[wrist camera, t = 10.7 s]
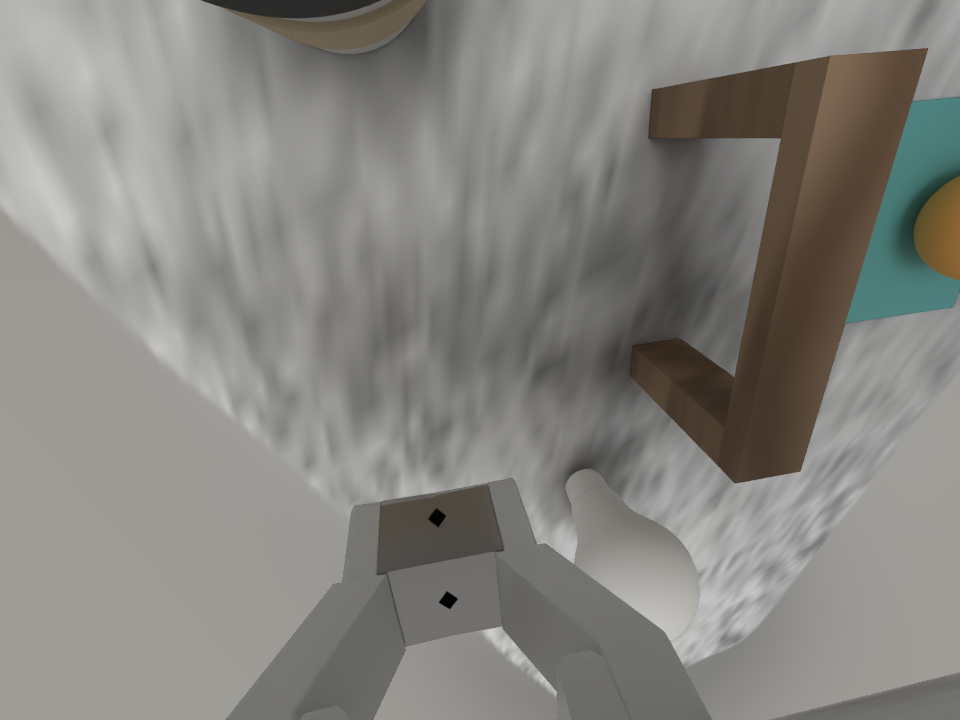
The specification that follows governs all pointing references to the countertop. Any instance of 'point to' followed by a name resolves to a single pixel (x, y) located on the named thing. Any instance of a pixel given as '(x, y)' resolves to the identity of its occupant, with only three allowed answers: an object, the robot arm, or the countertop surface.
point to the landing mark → (910, 219)
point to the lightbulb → (632, 555)
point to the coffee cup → (330, 20)
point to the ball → (940, 230)
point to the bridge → (785, 247)
